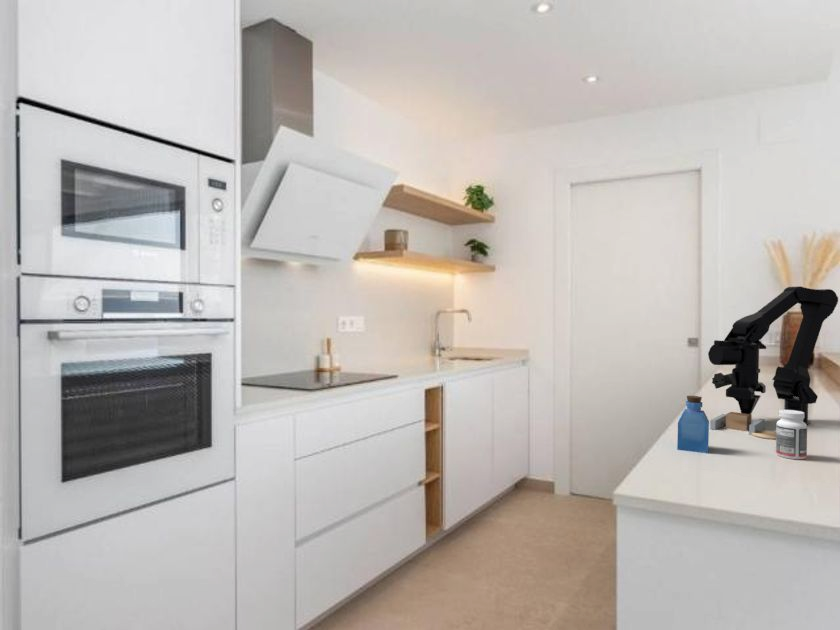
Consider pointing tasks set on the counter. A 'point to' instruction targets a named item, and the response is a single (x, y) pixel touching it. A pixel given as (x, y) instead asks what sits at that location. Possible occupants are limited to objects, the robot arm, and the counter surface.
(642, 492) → the counter surface
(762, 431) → the coaster
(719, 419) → the channel
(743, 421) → the block
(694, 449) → the blue corked bottle
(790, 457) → the pill bottle
